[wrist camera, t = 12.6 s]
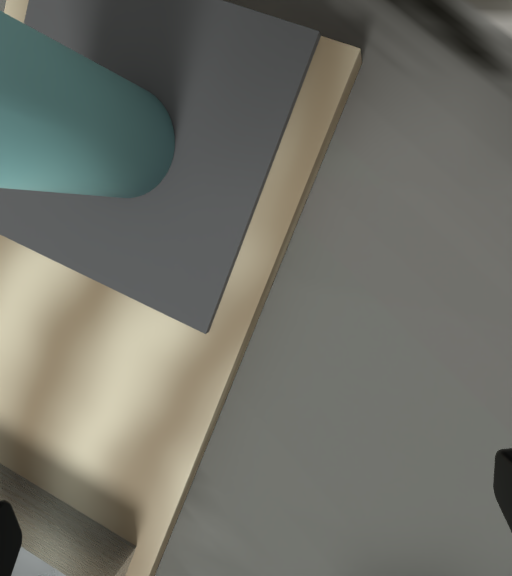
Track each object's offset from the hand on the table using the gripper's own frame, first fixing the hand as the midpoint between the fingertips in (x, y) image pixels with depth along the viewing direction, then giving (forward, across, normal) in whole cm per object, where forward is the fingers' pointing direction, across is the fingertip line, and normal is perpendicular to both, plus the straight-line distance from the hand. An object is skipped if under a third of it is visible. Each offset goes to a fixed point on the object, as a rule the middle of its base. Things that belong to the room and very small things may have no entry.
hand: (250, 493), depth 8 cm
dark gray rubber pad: (+13, +4, -6) cm, 15 cm away
